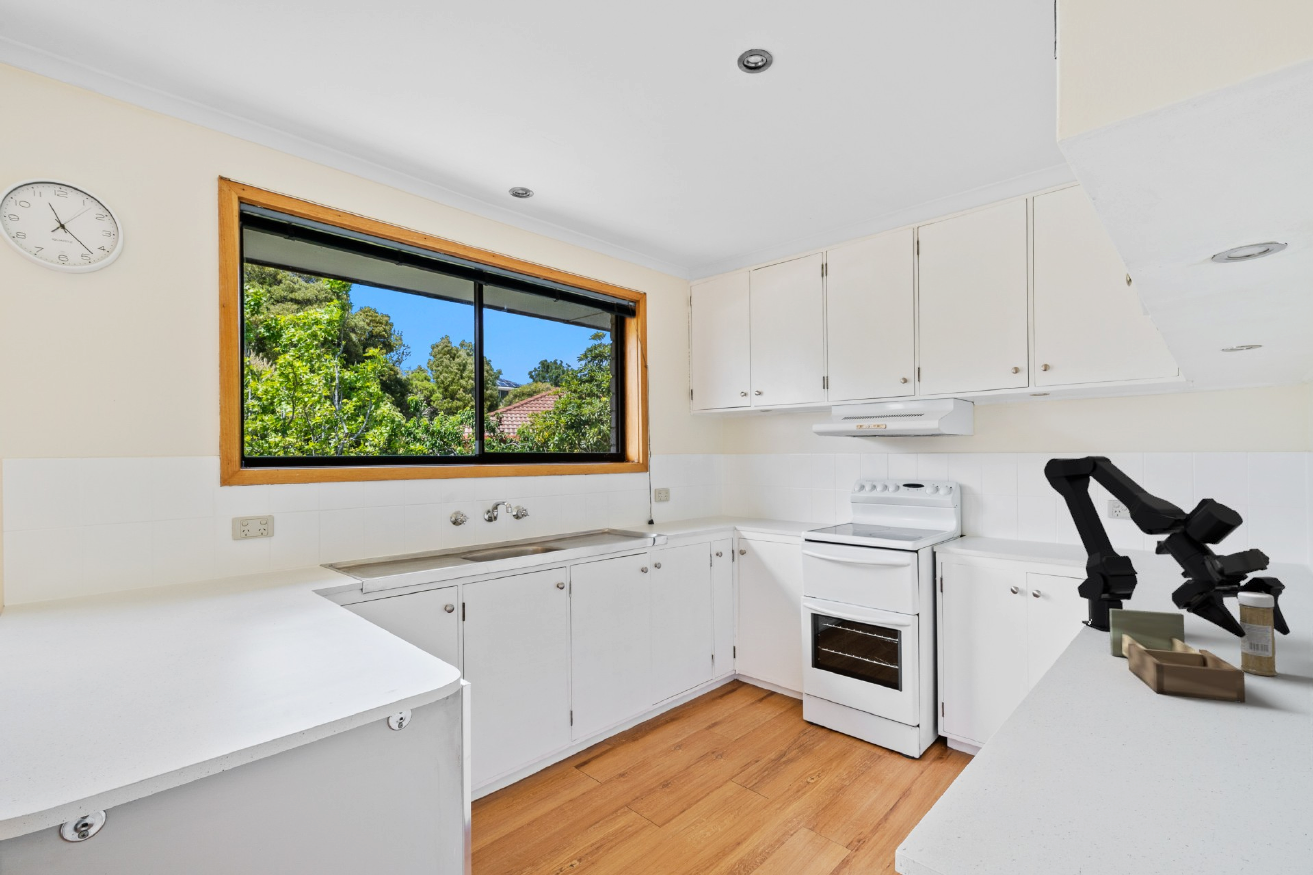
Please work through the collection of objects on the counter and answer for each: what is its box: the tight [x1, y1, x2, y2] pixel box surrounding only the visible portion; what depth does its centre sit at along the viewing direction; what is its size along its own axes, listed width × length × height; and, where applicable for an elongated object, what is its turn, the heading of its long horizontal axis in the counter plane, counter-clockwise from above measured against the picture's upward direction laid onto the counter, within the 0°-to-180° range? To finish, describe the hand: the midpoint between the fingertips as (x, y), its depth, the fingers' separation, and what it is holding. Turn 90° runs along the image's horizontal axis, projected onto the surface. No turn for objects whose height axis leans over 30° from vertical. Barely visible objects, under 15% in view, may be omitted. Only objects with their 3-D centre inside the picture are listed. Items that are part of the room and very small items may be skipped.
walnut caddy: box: [1128, 644, 1246, 703], centre depth 103 cm, size 12×11×4 cm
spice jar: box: [1237, 592, 1277, 677], centre depth 109 cm, size 5×5×13 cm
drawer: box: [1109, 608, 1204, 667], centre depth 112 cm, size 12×11×8 cm
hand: (1265, 635), depth 108 cm, fingers open, 9 cm apart
